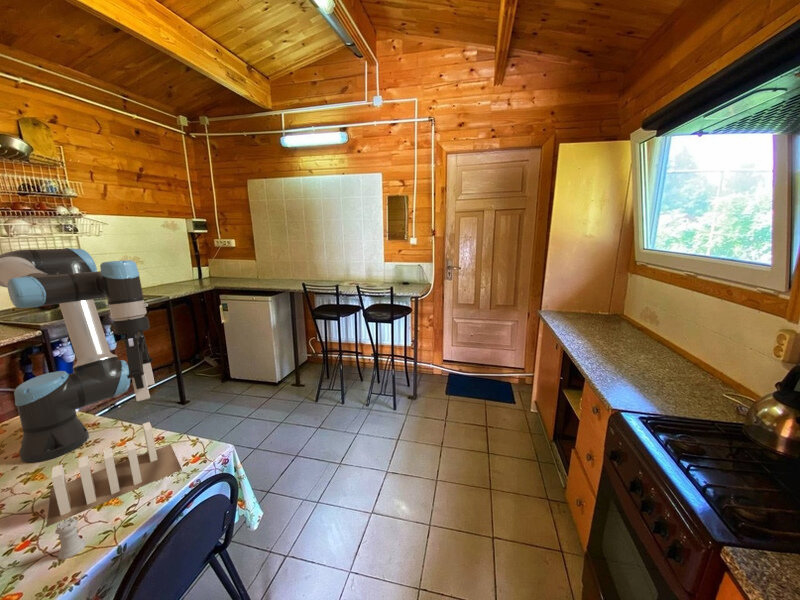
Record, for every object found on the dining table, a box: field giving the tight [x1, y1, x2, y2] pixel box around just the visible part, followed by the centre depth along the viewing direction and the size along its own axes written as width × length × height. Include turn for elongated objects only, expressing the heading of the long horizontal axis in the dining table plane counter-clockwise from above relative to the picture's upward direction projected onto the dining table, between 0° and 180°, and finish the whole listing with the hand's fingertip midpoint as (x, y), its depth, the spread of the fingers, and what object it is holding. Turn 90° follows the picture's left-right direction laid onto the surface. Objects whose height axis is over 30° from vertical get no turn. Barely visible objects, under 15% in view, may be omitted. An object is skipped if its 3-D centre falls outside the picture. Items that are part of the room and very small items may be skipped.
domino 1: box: [51, 463, 71, 515], centre depth 78 cm, size 2×5×10 cm, turn 44°
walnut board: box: [46, 443, 183, 528], centre depth 88 cm, size 26×16×2 cm, turn 134°
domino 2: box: [78, 455, 96, 505], centre depth 81 cm, size 2×5×10 cm, turn 44°
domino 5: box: [142, 421, 158, 462], centre depth 96 cm, size 2×5×10 cm, turn 44°
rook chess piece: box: [54, 517, 87, 560], centre depth 67 cm, size 4×4×8 cm
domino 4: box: [125, 439, 142, 485], centre depth 87 cm, size 2×5×10 cm, turn 44°
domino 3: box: [102, 447, 120, 494], centre depth 84 cm, size 2×5×10 cm, turn 44°
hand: (146, 391), depth 92 cm, fingers open, 13 cm apart
